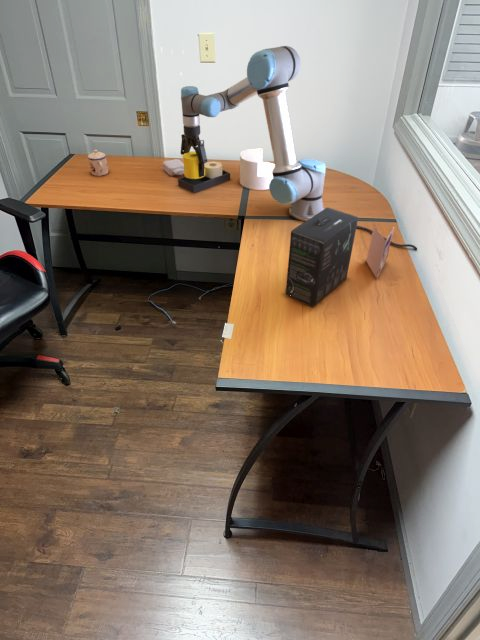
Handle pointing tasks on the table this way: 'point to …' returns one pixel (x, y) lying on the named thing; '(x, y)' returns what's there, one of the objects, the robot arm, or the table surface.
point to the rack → (202, 182)
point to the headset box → (320, 255)
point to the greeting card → (378, 251)
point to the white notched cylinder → (255, 170)
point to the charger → (173, 167)
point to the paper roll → (213, 169)
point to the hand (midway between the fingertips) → (194, 173)
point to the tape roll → (191, 165)
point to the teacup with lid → (98, 163)
